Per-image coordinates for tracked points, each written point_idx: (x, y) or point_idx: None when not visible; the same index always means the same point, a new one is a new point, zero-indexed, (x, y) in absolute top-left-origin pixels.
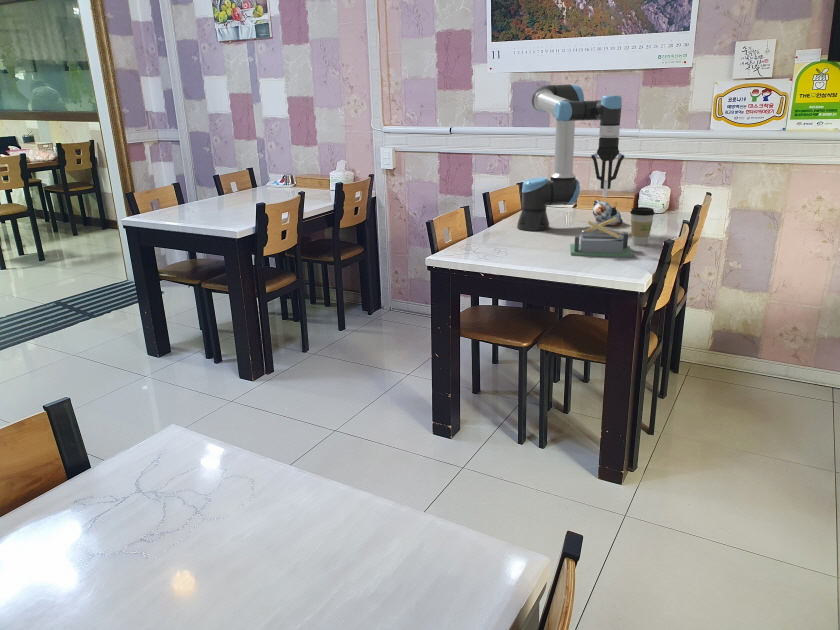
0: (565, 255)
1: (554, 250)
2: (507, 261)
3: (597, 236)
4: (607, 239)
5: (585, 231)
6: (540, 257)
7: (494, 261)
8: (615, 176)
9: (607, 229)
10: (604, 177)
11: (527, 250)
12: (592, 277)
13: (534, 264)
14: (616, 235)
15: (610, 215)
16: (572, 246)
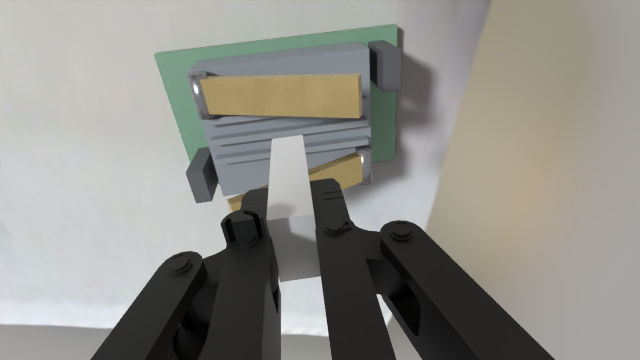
0: (184, 185)
1: (122, 130)
2: (52, 283)
3: None
4: (314, 159)
5: (212, 113)
6: (119, 226)
7: (18, 292)
8: (417, 305)
9: (315, 175)
10: (279, 315)
11: (27, 154)
12: (293, 331)
13: (137, 288)
14: (349, 185)
15: None
16: (177, 100)
